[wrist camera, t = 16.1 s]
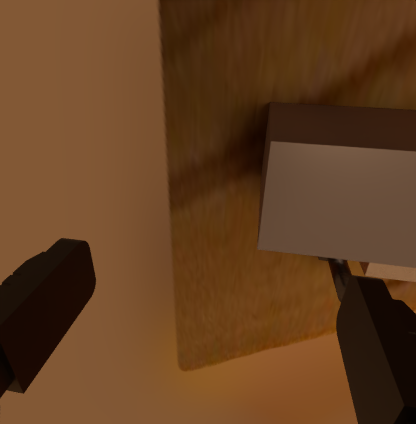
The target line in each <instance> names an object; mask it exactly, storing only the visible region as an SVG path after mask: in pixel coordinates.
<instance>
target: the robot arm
mask: <svg viewBox="0 0 416 424" xmlns="http://www.w3.org/2000/svg"><path fill="white" fill-rule="evenodd" d="M95 285H96V277H95V272H94V267H93V262H92V257H91V252H90V247H89V245H88V243H87V242H86V241H82V240H74V239H66V238H61V239H59V240H58V241H57V242H56V243H55V244H54V245H53V246H51V247H50V248H49V249H48V250H47V251H46V252H42V253H40V254H38V255H36V256H34V257H32V258H30V259H29V260H27V261H25V262H24V263H23V264H22V265H21V266H20V267H19V268H18V269H16V270H15V271H14V272H13V275H10V276H9V277H8V278H6V279H5V280H4V281H3V282H2V285H0V398H1V396H2V395H3V394H4V393H5V391H6V390H9V391H13V392H18V393H24V392H25V391H26V390H27V388H28V387H29V385H30V384H31V382H32V381H33V380H34V378H35V377H36V375H37V374H38V372H39V371H40V370H41V368H42V367H43V365H44V364H45V362H46V361H47V360H48V358H49V357H50V355H51V354H52V352H53V351H54V350H55V348H56V347H57V345H58V344H59V342H60V341H61V340H62V338H63V337H64V335H65V334H66V332H67V331H68V329H69V328H70V327H71V325H72V324H73V322H74V321H75V319H76V318H77V316H78V315H79V314H80V312H81V311H82V310H83V308H84V307H85V305H86V304H87V302H88V301H89V299H90V298H91V297H92V295H93V292H94V289H95ZM336 329H337V336H338V341H339V345H340V349H341V353H342V358H343V362H344V366H345V370H346V375H347V379H348V382H349V387H350V391H351V396H352V400H353V404H354V408H355V412H356V416H357V421H358V424H416V314H415V313H414V312H413V311H412V310H411V309H410V308H409V307H408V306H407V305H406V304H405V303H404V302H403V301H402V300H394V299H392V297H391V295H390V293H389V291H388V289H387V287H386V285H385V283H384V281H383V280H382V279H378V278H370V277H362V276H354V275H352V276H351V277H350V278H349V280H348V283H347V286H346V289H345V293H344V296H343V299H342V302H341V305H340V308H339V311H338V315H337V322H336Z"/></svg>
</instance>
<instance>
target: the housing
mask: <svg viewBox="0 0 416 424" xmlns="http://www.w3.org/2000/svg"><path fill="white" fill-rule="evenodd" d="M257 249H260V250H269V251H277V252H285V253H294V254H302V255H310V256H319V257H327V258H335V259H344V260H352V261H361V262H369V263H377V264H386V265H394V266H402V267H411V268H416V110H403V109H385V108H366V107H348V106H329V105H311V104H292V103H274V102H270V105H269V113H268V122H267V130H266V139H265V147H264V156H263V164H262V173H261V188H260V207H259V226H258V245H257Z"/></svg>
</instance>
